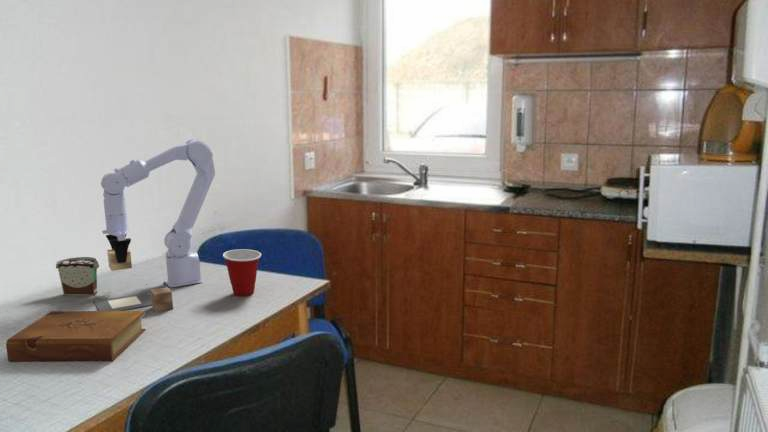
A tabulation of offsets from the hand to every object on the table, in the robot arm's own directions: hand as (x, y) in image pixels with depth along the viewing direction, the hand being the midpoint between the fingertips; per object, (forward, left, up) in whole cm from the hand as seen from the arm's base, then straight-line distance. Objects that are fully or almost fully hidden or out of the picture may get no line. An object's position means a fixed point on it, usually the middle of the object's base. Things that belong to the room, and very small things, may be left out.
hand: (120, 260), depth 187 cm
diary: (+16, +38, -10) cm, 43 cm away
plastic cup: (-29, +22, -10) cm, 38 cm away
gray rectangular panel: (+2, +12, -9) cm, 16 cm away
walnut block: (-6, +22, -10) cm, 25 cm away
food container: (+10, -6, -10) cm, 15 cm away
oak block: (0, 0, -2) cm, 2 cm away
